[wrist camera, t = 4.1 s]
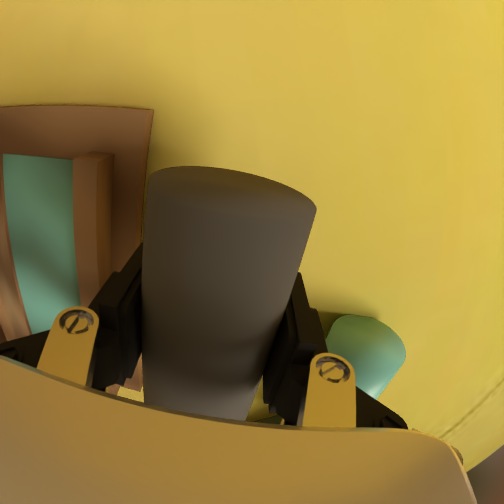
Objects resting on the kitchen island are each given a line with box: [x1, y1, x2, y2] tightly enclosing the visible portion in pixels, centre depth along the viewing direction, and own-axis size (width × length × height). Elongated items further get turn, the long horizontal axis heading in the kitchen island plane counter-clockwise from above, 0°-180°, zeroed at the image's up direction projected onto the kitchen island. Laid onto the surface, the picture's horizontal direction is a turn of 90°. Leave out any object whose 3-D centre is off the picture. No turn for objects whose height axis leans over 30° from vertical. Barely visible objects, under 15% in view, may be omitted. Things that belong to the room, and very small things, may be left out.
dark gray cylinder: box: [141, 166, 317, 421], centre depth 10 cm, size 9×4×4 cm, turn 168°
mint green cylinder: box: [325, 314, 406, 399], centre depth 17 cm, size 9×4×4 cm, turn 168°
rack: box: [0, 105, 154, 395], centre depth 14 cm, size 18×19×2 cm
